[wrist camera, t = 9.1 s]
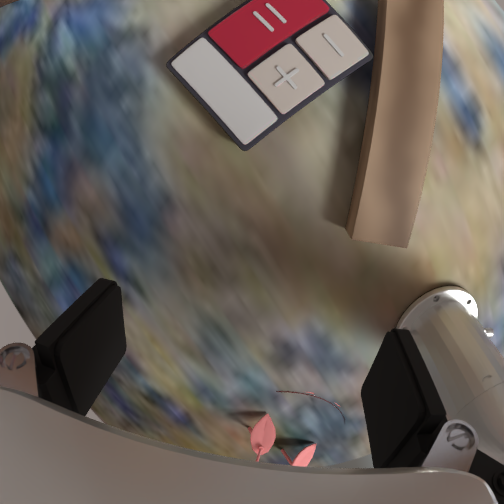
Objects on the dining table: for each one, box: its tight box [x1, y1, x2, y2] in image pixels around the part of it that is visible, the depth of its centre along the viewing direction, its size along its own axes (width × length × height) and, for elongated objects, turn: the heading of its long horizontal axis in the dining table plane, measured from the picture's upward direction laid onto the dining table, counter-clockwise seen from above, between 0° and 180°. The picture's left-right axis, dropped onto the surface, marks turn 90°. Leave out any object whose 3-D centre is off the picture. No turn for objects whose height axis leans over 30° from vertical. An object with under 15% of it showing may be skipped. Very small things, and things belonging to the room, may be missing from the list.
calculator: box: [166, 0, 373, 151], centre depth 24 cm, size 11×4×15 cm
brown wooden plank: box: [345, 0, 444, 248], centre depth 24 cm, size 6×32×3 cm, turn 173°
